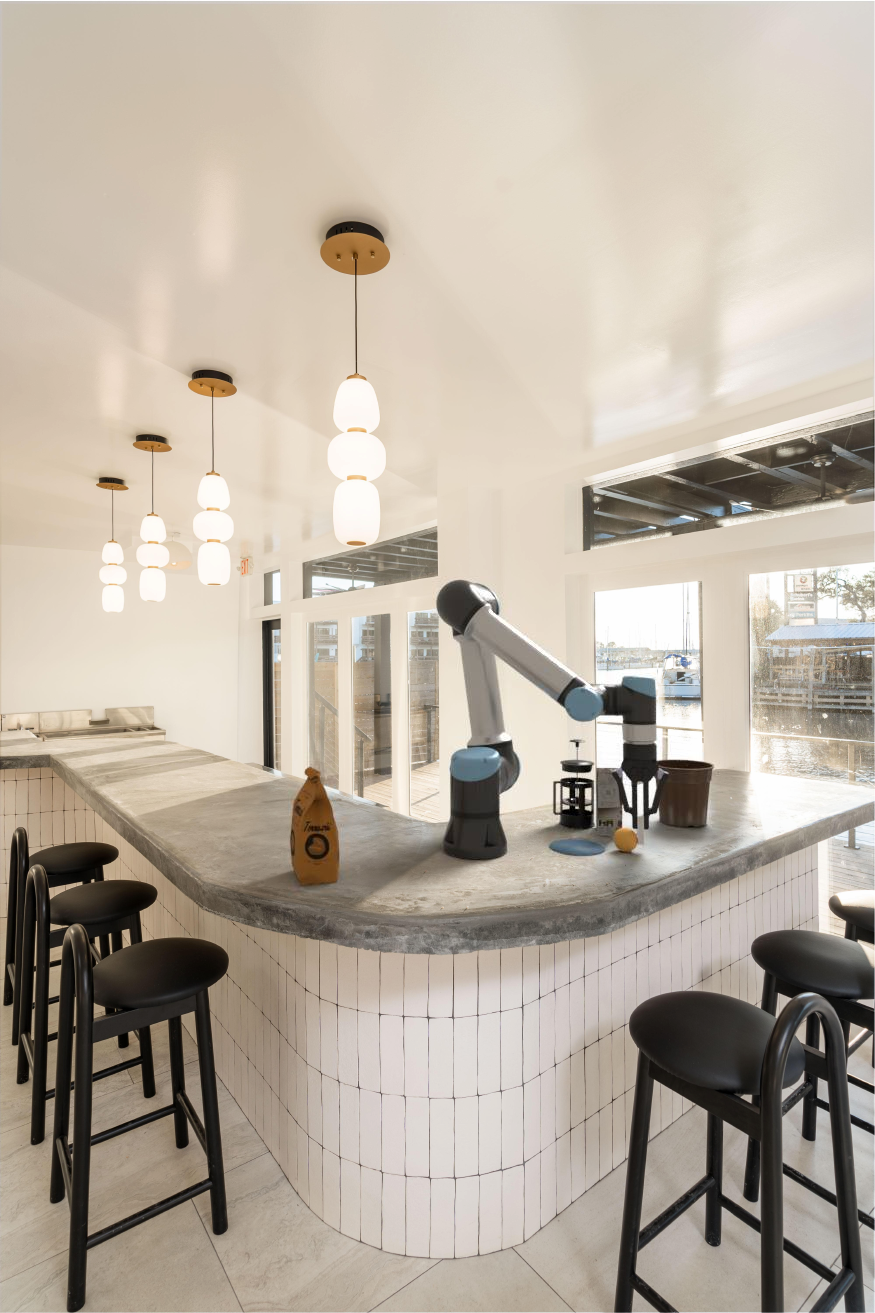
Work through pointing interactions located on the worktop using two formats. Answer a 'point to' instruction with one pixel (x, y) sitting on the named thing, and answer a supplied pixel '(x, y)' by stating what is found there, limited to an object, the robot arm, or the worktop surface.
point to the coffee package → (314, 834)
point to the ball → (625, 839)
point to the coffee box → (607, 803)
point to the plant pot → (684, 792)
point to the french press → (575, 794)
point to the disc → (577, 847)
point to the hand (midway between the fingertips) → (640, 842)
